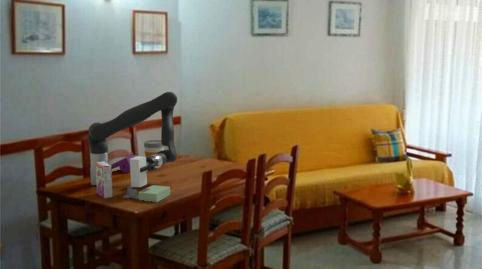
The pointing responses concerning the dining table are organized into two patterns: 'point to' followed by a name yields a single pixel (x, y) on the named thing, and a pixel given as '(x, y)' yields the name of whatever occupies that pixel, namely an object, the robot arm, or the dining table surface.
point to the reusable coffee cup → (152, 147)
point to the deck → (149, 193)
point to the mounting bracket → (123, 164)
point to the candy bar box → (104, 179)
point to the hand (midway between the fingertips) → (135, 170)
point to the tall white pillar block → (138, 171)
